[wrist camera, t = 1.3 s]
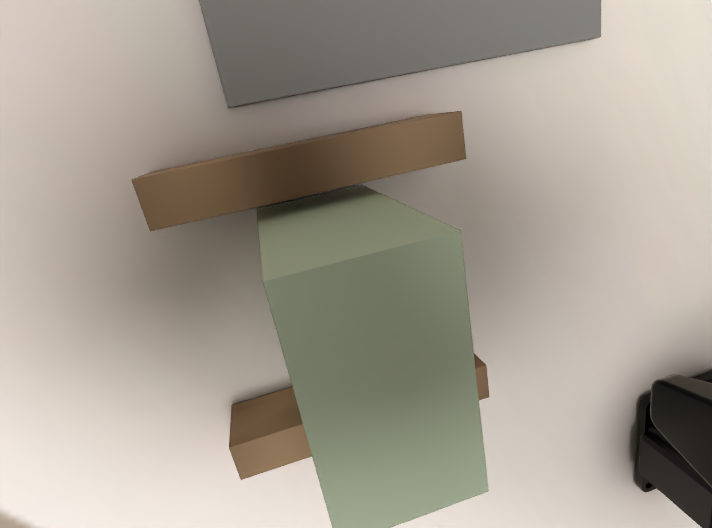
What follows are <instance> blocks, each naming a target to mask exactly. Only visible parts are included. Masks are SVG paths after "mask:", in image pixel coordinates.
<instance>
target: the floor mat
mask: <svg viewBox="0 0 712 528" xmlns="http://www.w3.org/2000/svg"><path fill="white" fill-rule="evenodd" d="M199 2H200V5H201V9H202V13H203V16H204V20H205V24H206V27H207V31H208V35H209V38H210V42H211V46H212V49H213V53H214V57H215V60H216V64H217V68H218V71H219V75H220V79H221V82H222V86H223V90H224V93H225V97H226V101H227V104H228V107H235V106H240V105H245V104H251V103H256V102H261V101H266V100H272V99H277V98H282V97H288V96H293V95H298V94H304V93H309V92H314V91H320V90H325V89H330V88H335V87H341V86H346V85H351V84H357V83H362V82H367V81H373V80H378V79H383V78H389V77H394V76H399V75H404V74H410V73H415V72H420V71H426V70H431V69H436V68H442V67H447V66H452V65H458V64H463V63H468V62H473V61H479V60H484V59H489V58H495V57H500V56H505V55H511V54H516V53H521V52H526V51H532V50H537V49H542V48H548V47H553V46H558V45H564V44H569V43H574V42H580V41H585V40H590V39H595V38H598V37H601V0H199Z"/></svg>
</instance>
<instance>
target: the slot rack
mask: <svg viewBox="0 0 712 528" xmlns="http://www.w3.org/2000/svg"><path fill="white" fill-rule="evenodd" d="M463 159H466V154H465V144H464V133H463V123H462V113H461V111H457V112H447V113H438V114H429V115H424V116H419V117H414V118H410V119H405V120H400V121H395V122H390V123H385V124H381V125H376V126H371V127H366V128H361V129H356V130H352V131H347V132H342V133H337V134H332V135H328V136H323V137H318V138H313V139H308V140H303V141H299V142H294V143H289V144H284V145H279V146H274V147H270V148H265V149H260V150H255V151H250V152H245V153H241V154H236V155H231V156H226V157H221V158H217V159H212V160H207V161H202V162H197V163H192V164H188V165H183V166H178V167H173V168H168V169H163V170H159V171H154V172H150V173H147V174H145V175H142V176H140V177H137V178H135V179H132V183H133V185H134V188H135V191H136V194H137V196H138V199H139V202H140V205H141V207H142V210H143V213H144V216H145V218H146V221H147V224H148V227H149V229H150V231H154V230H158V229H163V228H167V227H171V226H176V225H180V224H184V223H189V222H193V221H198V220H202V219H206V218H211V217H215V216H219V215H224V214H228V213H232V212H237V211H241V210H245V209H250V208H254V207H259V206H263V205H267V204H272V203H276V202H280V201H285V200H289V199H293V198H298V197H302V196H306V195H311V194H315V193H320V192H324V191H328V190H333V189H337V188H341V187H346V186H350V185H354V184H359V183H363V182H367V181H372V180H376V179H381V178H385V177H389V176H394V175H398V174H402V173H407V172H411V171H415V170H420V169H424V168H429V167H433V166H437V165H442V164H446V163H450V162H455V161H459V160H463ZM474 362H475V371H476V380H477V389H478V399H479V400H481V399H484V398H487V397H489V389H488V379H487V369H486V365H485V364H484V363H483V362H482V361H481V360H480V359H479V358H478V357H477V356H476V355H475V354H474ZM229 449H230V452H231V454H232V457H233V460H234V463H235V465H236V468H237V471H238V474H239V476H240V479H241V480H242V479H245V478H248V477H251V476H254V475H257V474H260V473H263V472H266V471H269V470H272V469H275V468H278V467H281V466H284V465H287V464H290V463H293V462H296V461H299V460H302V459H305V458H308V457H311V456H312V453H311V450H310V446H309V443H308V439H307V436H306V432H305V429H304V425H303V422H302V418H301V415H300V411H299V408H298V404H297V400H296V397H295V393H294V390H293V387H290V388H287V389H284V390H280V391H277V392H274V393H270V394H267V395H264V396H260V397H257V398H254V399H251V400H247V401H244V402H241V403H237V404H234V405H232V409H231V425H230V441H229Z"/></svg>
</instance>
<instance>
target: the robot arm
mask: <svg viewBox="0 0 712 528" xmlns="http://www.w3.org/2000/svg"><path fill="white" fill-rule="evenodd" d="M636 485H637V486H638V487H639V488H640V489H641V490H642V491H644V492H649V491H651V490H654V489H656V488H657V489H658V490H659V491H661V492H662V493H663V494H664V495H665V496H666V497H668V498H669V499H670V500H671V501H672V502H673V503H674V504H676V505H677V506H678V507H679V508H680V509H681V510H682V511H684V512H685V513H686V514H687V515H688V516H689V517H691V518H692V519H693V520H694V521H695V522H696V523H697V524H699V525H700V526H701V527H702V528H712V372H710V373H707V374H704V375H701V376H699V377H696V378H693V379H692V378H688V377H684V376H680V375H670V376H667V377H664V378H661V379H658V380H656V381H654V383H653V384H652V388H651V394H648V395H646V396H645V397H644V398H642V400H641V402H640V405H639V426H638V447H637V469H636Z"/></svg>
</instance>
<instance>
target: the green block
mask: <svg viewBox="0 0 712 528" xmlns="http://www.w3.org/2000/svg"><path fill="white" fill-rule="evenodd" d="M257 221H258V233H259V244H260V255H261V266H262V278H263V284H264V287H265V291H266V294H267V298H268V302H269V305H270V309H271V312H272V316H273V319H274V323H275V326H276V330H277V333H278V337H279V340H280V344H281V347H282V351H283V355H284V358H285V362H286V365H287V369H288V372H289V376H290V379H291V383H292V386H293V390H294V393H295V397H296V400H297V404H298V408H299V411H300V415H301V418H302V422H303V425H304V429H305V432H306V436H307V439H308V443H309V446H310V450H311V453H312V457H313V460H314V464H315V468H316V471H317V475H318V478H319V482H320V485H321V489H322V492H323V496H324V499H325V503H326V506H327V510H328V513H329V517H330V521H331V524H332V528H391V527H393V526H396V525H399V524H401V523H404V522H407V521H410V520H412V519H415V518H418V517H420V516H423V515H426V514H428V513H431V512H434V511H436V510H439V509H442V508H444V507H447V506H450V505H453V504H455V503H458V502H461V501H463V500H466V499H469V498H471V497H474V496H477V495H479V494H482V493H485V492H487V491H488V481H487V472H486V463H485V454H484V445H483V435H482V426H481V417H480V408H479V399H478V389H477V380H476V371H475V362H474V352H473V343H472V334H471V325H470V316H469V306H468V297H467V288H466V279H465V270H464V260H463V251H462V242H461V233H460V230H458V229H456V228H454V227H452V226H449V225H447V224H445V223H443V222H441V221H439V220H436V219H434V218H432V217H430V216H428V215H426V214H423V213H421V212H419V211H417V210H415V209H413V208H410V207H408V206H406V205H404V204H402V203H400V202H397V201H395V200H393V199H391V198H389V197H387V196H385V195H382V194H380V193H378V192H376V191H374V190H372V189H369V188H367V187H365V186H363V185H361V186H356V187H352V188H348V189H343V190H339V191H335V192H330V193H326V194H322V195H317V196H313V197H309V198H304V199H300V200H296V201H291V202H287V203H283V204H278V205H274V206H270V207H265V208H261V209H257Z"/></svg>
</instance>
